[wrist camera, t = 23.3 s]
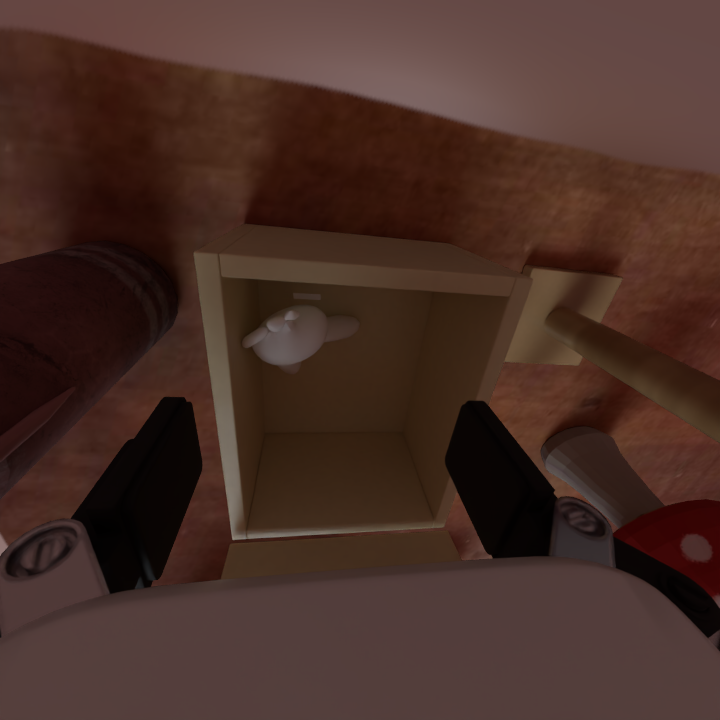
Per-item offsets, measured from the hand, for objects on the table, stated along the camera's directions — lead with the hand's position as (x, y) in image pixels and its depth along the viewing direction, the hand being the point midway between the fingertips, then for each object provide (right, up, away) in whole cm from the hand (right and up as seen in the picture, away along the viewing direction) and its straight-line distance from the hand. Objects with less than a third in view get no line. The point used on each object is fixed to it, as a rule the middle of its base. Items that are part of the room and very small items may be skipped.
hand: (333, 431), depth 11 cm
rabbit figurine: (-2, +6, +6) cm, 9 cm away
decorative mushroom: (+22, -6, +20) cm, 30 cm away
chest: (0, +3, +12) cm, 12 cm away
